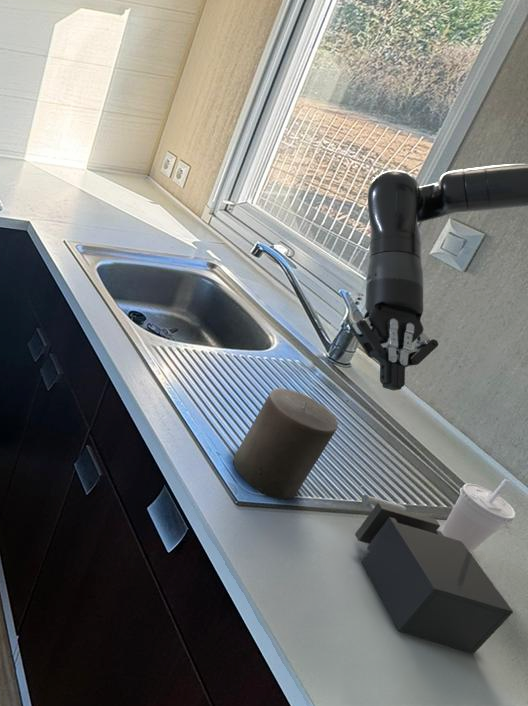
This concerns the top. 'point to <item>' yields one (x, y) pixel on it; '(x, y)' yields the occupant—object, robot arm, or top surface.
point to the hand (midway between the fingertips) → (392, 388)
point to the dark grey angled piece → (385, 514)
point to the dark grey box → (434, 588)
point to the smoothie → (478, 515)
